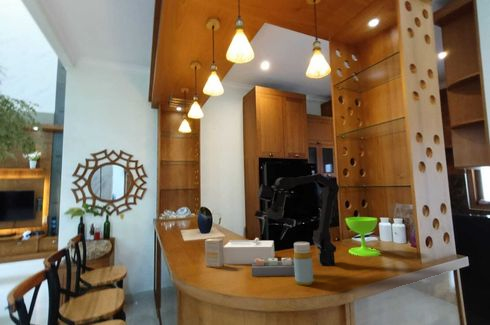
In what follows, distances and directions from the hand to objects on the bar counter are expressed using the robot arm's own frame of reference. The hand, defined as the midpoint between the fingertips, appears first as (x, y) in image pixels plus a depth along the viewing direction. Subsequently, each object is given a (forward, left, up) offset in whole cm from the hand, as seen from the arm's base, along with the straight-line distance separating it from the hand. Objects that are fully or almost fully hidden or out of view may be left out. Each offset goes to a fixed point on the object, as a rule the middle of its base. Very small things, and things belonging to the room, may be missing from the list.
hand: (270, 236), depth 113 cm
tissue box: (+12, -18, -16) cm, 27 cm away
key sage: (0, +2, -12) cm, 12 cm away
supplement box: (+29, -9, -15) cm, 34 cm away
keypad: (0, +2, -15) cm, 15 cm away
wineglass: (-50, -26, -15) cm, 59 cm away
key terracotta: (+6, +2, -12) cm, 13 cm away
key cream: (-6, +2, -12) cm, 13 cm away
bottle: (-12, +15, -15) cm, 24 cm away
